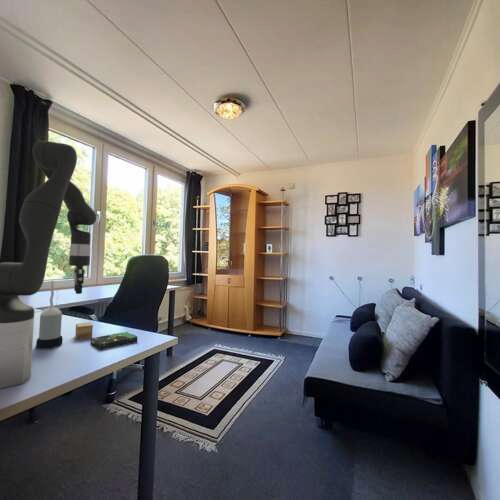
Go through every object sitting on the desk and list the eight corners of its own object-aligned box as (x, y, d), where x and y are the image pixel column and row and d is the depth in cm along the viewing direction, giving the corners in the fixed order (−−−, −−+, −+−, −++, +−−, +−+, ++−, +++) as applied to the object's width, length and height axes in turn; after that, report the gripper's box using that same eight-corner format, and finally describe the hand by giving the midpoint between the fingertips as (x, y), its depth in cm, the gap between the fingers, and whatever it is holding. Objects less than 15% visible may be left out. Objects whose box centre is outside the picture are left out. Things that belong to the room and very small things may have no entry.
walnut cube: (92, 337, 114) (92, 325, 114) (76, 340, 110) (77, 326, 110) (90, 334, 118) (90, 322, 118) (75, 336, 114) (76, 323, 115)
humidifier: (40, 342, 105) (44, 279, 105) (65, 341, 108) (68, 279, 108) (32, 350, 97) (36, 282, 98) (58, 348, 100) (62, 282, 101)
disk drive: (99, 352, 100) (137, 342, 111) (99, 344, 100) (138, 336, 111) (89, 345, 107) (127, 337, 118) (90, 338, 107) (127, 330, 118)
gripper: (91, 255, 111) (89, 294, 110) (88, 254, 122) (86, 289, 122) (70, 254, 106) (68, 295, 106) (68, 254, 118) (66, 290, 117)
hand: (78, 292), depth 114 cm, fingers open, 8 cm apart
